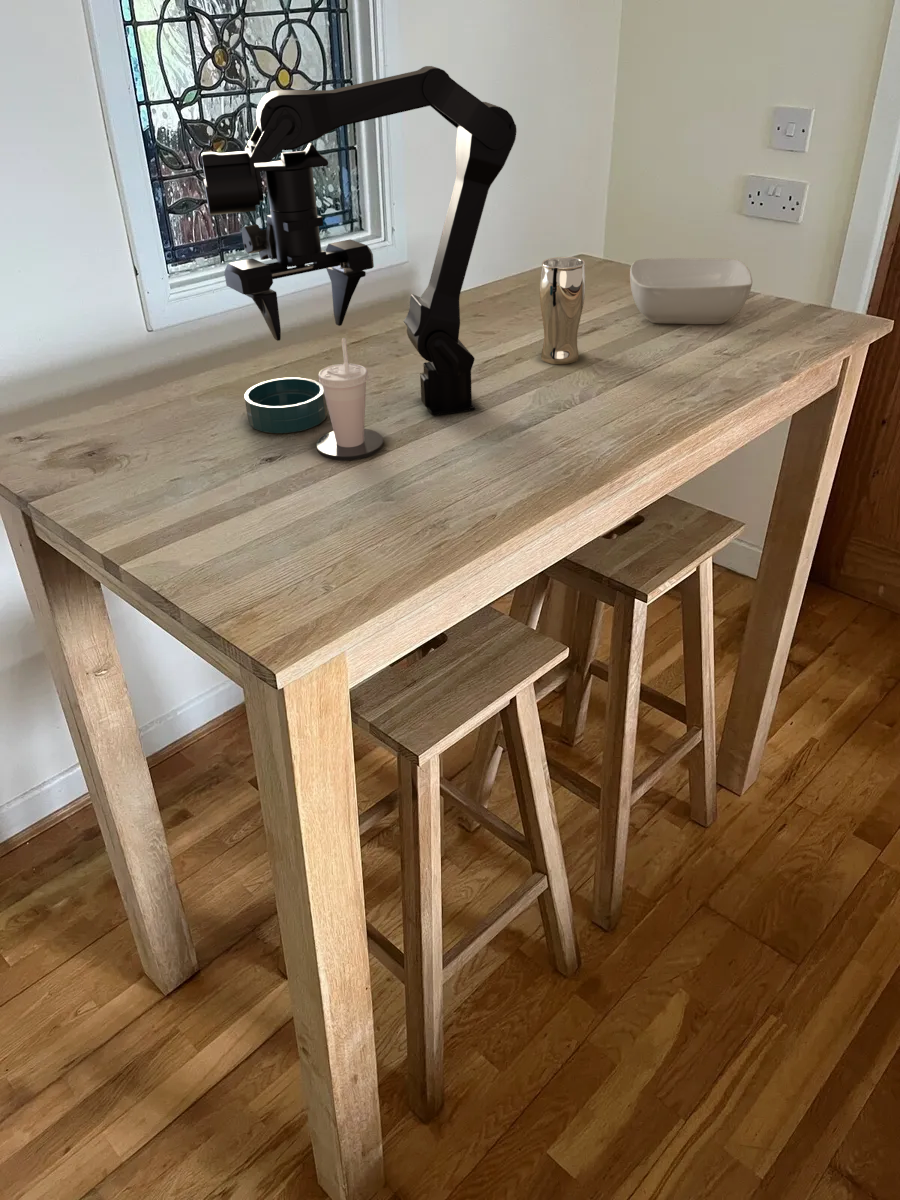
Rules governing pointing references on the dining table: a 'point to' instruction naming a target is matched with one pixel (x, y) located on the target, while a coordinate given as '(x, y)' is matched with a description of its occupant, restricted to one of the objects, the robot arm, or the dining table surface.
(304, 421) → the teal faceted dish
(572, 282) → the beer glass
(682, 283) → the bowl
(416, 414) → the dining table surface
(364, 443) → the coaster
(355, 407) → the smoothie
